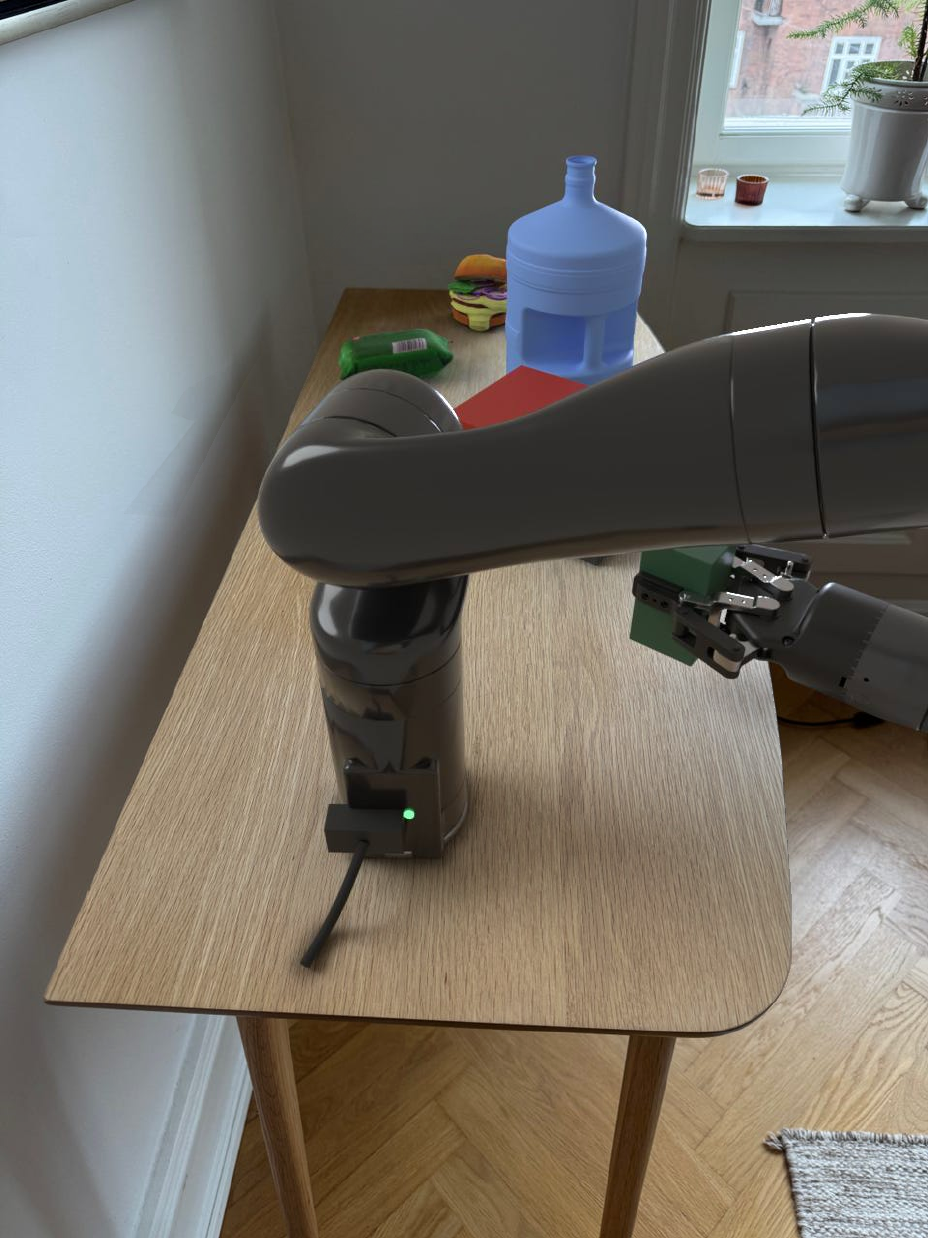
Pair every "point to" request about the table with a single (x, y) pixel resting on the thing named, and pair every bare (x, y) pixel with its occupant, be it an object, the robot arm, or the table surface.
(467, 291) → the cheeseburger
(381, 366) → the snack package
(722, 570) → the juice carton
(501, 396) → the lunchbox lid
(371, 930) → the table surface
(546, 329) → the water jug
